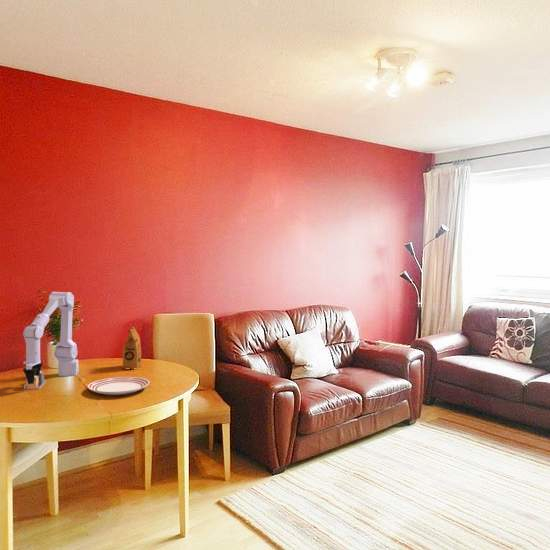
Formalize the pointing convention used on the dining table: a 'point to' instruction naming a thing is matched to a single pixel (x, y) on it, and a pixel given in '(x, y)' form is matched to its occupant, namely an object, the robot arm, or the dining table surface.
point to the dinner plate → (118, 385)
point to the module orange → (32, 386)
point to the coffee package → (132, 350)
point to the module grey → (41, 377)
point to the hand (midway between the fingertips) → (33, 381)
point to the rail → (38, 385)
